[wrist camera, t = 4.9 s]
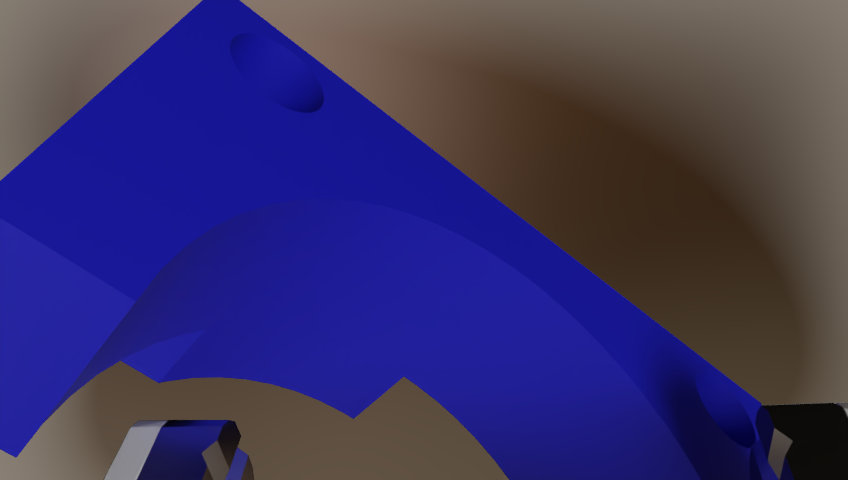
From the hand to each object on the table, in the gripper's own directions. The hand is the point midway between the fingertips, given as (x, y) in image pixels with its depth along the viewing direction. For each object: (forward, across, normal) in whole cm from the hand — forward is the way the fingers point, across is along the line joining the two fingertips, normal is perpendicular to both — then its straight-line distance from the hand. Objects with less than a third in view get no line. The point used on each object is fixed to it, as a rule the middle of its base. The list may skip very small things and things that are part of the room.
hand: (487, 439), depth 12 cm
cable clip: (+3, +1, 0) cm, 3 cm away
